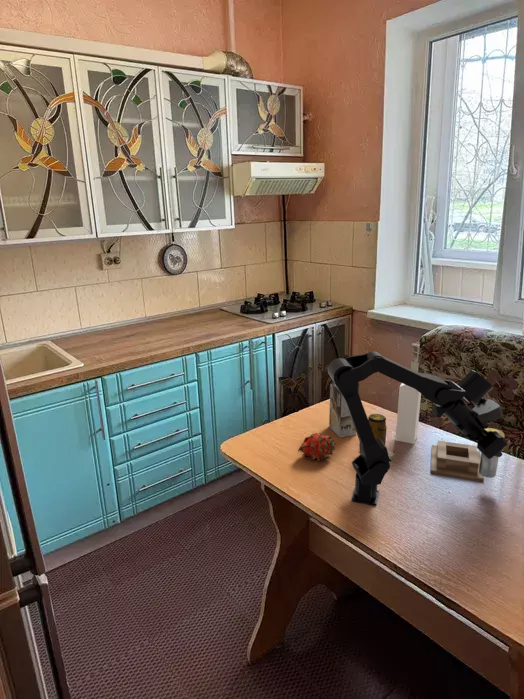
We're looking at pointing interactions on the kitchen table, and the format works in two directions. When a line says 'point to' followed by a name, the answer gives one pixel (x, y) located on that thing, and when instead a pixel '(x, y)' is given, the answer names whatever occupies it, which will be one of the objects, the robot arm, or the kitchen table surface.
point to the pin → (489, 461)
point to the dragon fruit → (317, 446)
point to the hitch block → (456, 460)
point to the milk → (408, 414)
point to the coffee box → (339, 414)
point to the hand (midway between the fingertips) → (495, 451)
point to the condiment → (379, 428)
